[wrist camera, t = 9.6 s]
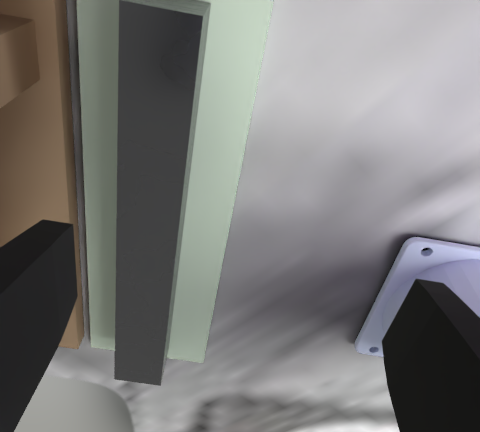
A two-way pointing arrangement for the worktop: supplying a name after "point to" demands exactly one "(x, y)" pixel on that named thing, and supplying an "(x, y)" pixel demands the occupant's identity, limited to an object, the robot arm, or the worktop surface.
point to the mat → (202, 167)
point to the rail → (153, 171)
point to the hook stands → (37, 129)
